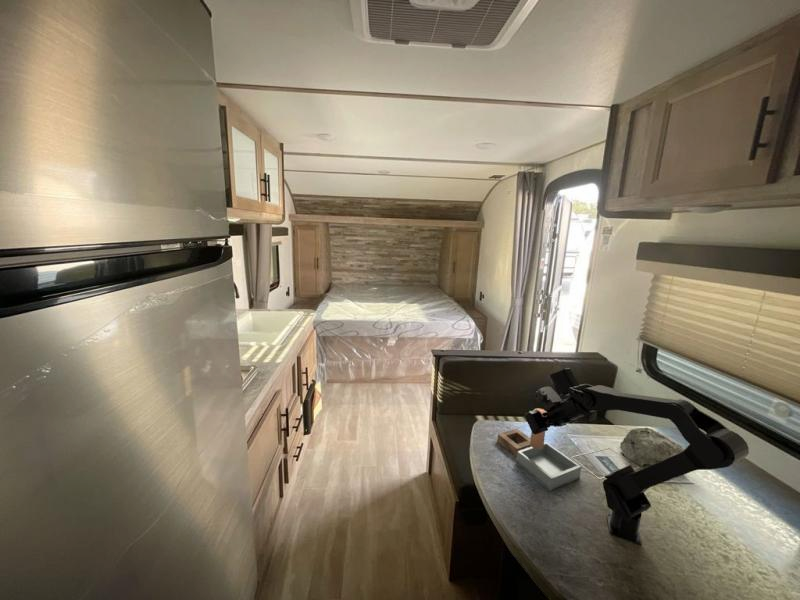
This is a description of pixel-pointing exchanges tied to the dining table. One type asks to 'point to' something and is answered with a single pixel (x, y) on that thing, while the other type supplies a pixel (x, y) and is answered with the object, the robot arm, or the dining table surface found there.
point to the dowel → (538, 436)
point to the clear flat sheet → (600, 450)
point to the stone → (648, 446)
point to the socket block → (509, 437)
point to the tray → (548, 466)
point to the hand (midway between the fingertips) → (535, 424)
